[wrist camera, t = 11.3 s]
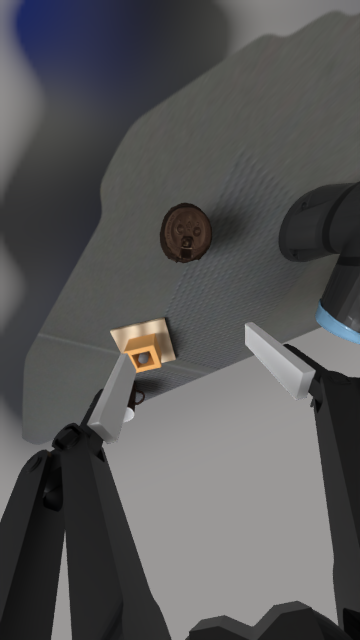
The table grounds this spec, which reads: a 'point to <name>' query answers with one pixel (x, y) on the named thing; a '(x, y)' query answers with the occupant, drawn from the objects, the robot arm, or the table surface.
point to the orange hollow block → (144, 345)
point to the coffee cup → (185, 233)
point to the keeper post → (142, 329)
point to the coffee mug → (132, 404)
